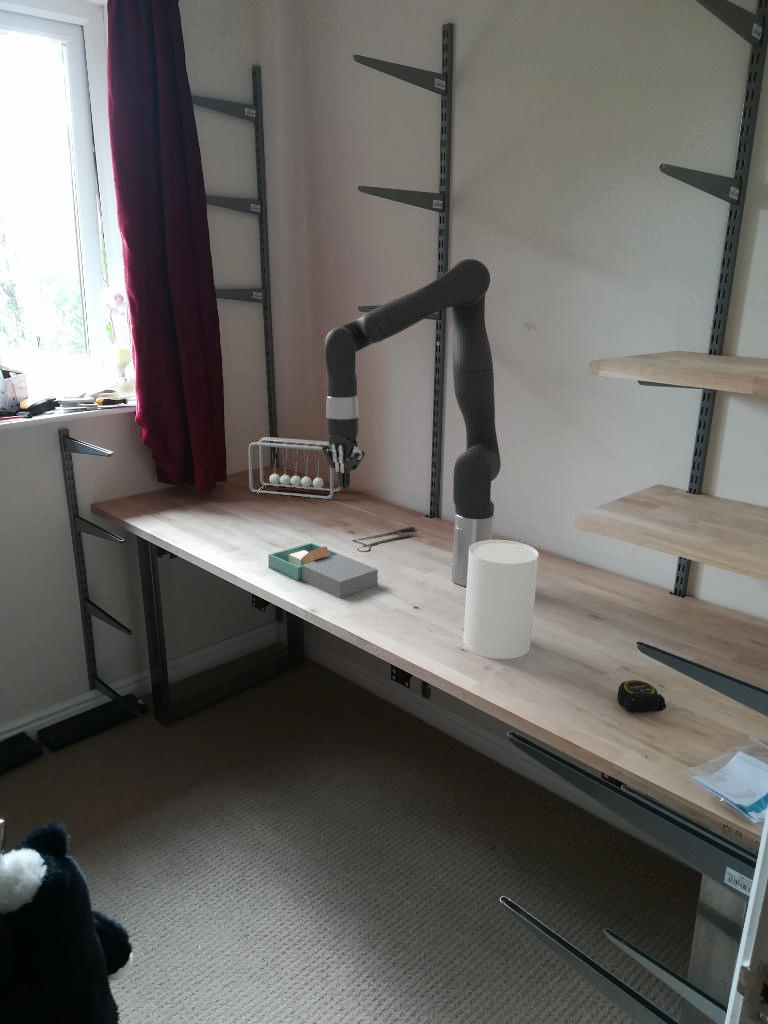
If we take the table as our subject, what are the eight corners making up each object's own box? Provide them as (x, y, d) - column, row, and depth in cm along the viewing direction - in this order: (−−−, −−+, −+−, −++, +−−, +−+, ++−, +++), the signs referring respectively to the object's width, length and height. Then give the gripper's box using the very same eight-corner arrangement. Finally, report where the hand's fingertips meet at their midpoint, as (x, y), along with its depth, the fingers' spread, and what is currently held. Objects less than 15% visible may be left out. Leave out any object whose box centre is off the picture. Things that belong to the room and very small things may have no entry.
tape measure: (627, 719, 126) (629, 700, 125) (609, 698, 133) (612, 679, 131) (664, 717, 127) (667, 697, 126) (645, 695, 134) (648, 677, 132)
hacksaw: (413, 529, 221) (413, 525, 221) (433, 539, 213) (433, 535, 213) (342, 542, 209) (342, 537, 208) (361, 554, 200) (361, 548, 200)
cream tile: (304, 550, 192) (304, 559, 193) (288, 554, 189) (288, 563, 190) (316, 555, 189) (316, 564, 190) (300, 559, 186) (300, 569, 186)
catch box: (341, 567, 190) (341, 554, 189) (297, 581, 180) (297, 567, 179) (311, 554, 198) (311, 542, 197) (268, 567, 188) (268, 554, 187)
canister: (475, 623, 160) (481, 535, 154) (537, 637, 155) (546, 546, 149) (453, 649, 148) (459, 555, 142) (519, 665, 143) (528, 568, 137)
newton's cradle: (341, 492, 258) (342, 442, 252) (332, 500, 248) (333, 448, 243) (261, 485, 264) (259, 436, 259) (249, 493, 254) (247, 442, 249)
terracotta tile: (330, 555, 185) (326, 546, 186) (314, 559, 182) (310, 550, 182) (320, 562, 189) (316, 554, 189) (305, 567, 185) (301, 558, 186)
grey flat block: (377, 584, 179) (377, 569, 178) (339, 598, 171) (340, 582, 170) (339, 568, 189) (339, 553, 188) (302, 580, 181) (302, 565, 180)
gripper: (373, 416, 171) (374, 489, 176) (335, 410, 180) (336, 479, 185) (350, 420, 166) (351, 495, 171) (311, 414, 175) (313, 485, 180)
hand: (343, 487), depth 178 cm, fingers closed
